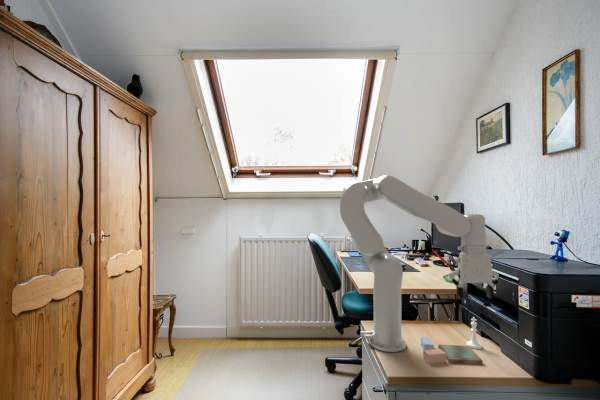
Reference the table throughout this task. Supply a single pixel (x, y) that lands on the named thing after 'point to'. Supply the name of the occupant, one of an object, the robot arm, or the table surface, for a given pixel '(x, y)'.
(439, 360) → the terracotta brick
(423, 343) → the slate-blue brick
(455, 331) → the table surface
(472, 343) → the chess piece
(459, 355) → the green-topped square tray
